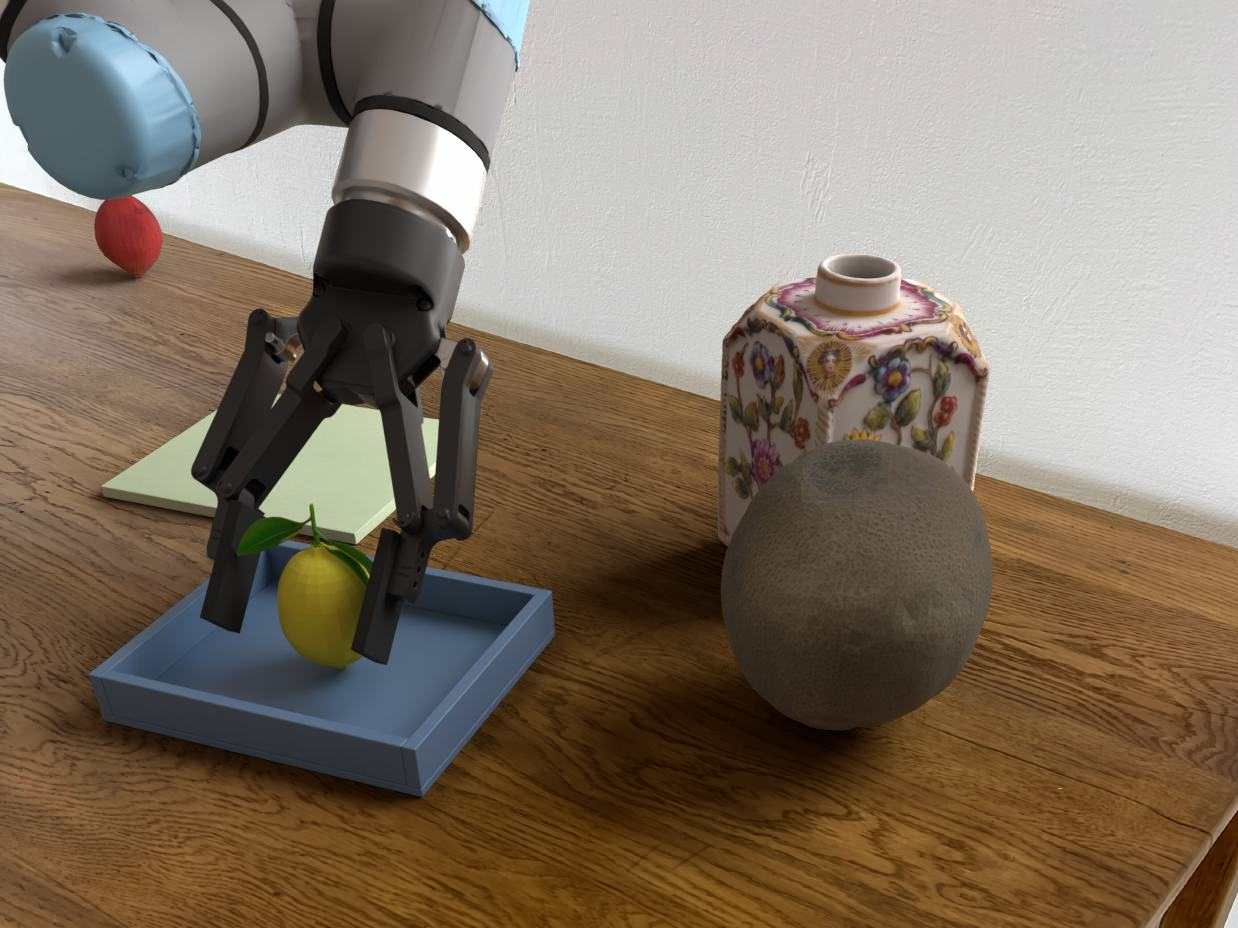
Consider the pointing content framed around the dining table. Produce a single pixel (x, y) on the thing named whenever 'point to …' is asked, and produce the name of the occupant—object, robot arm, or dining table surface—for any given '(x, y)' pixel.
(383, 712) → the tray
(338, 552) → the lemon
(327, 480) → the mat
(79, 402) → the dining table surface
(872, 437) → the decorative jar
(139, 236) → the onion
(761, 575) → the cantaloupe
